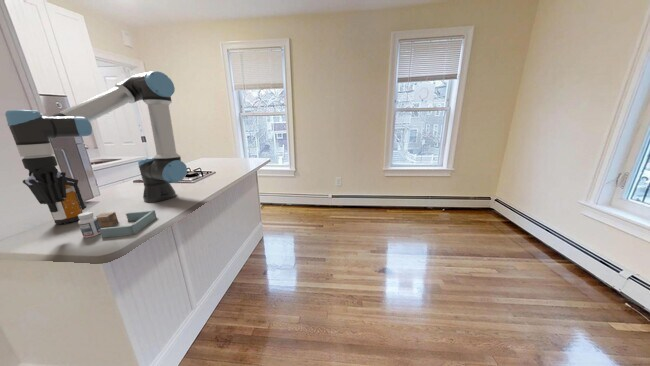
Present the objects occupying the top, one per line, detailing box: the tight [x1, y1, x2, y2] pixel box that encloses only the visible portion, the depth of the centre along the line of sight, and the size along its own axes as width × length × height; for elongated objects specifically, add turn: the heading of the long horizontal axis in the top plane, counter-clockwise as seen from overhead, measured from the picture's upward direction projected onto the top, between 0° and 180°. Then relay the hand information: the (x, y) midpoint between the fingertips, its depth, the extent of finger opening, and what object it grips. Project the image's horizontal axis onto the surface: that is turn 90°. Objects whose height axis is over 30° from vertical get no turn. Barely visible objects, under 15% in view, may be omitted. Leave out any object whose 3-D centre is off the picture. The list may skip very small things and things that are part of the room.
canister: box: [50, 176, 88, 225], centre depth 102 cm, size 9×11×20 cm
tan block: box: [95, 211, 119, 228], centre depth 97 cm, size 5×5×5 cm
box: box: [100, 209, 157, 239], centre depth 95 cm, size 16×11×4 cm
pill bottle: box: [77, 211, 101, 239], centre depth 89 cm, size 5×5×9 cm
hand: (60, 218), depth 86 cm, fingers closed
